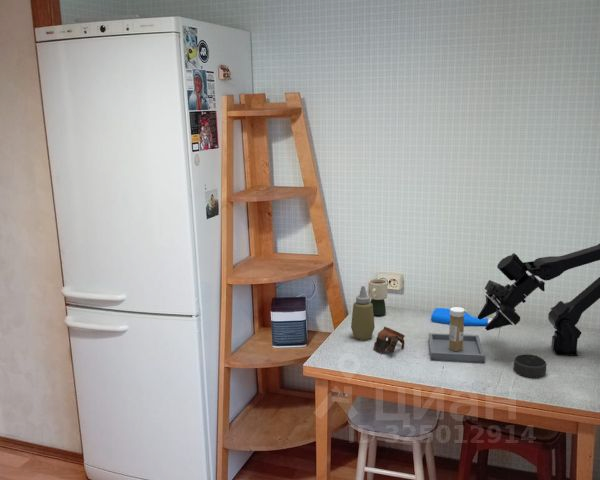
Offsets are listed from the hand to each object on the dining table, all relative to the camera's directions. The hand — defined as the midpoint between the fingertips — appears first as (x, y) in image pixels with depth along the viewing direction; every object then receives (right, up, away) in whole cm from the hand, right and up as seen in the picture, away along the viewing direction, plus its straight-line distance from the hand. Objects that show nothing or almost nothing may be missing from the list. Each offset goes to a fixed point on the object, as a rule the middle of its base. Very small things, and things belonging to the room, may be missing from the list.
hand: (482, 323), depth 185 cm
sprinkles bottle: (-8, -9, +2) cm, 12 cm away
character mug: (-28, -2, +36) cm, 46 cm away
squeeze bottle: (-36, -7, +15) cm, 40 cm away
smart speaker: (+10, -13, -12) cm, 20 cm away
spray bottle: (+3, -4, +28) cm, 28 cm away
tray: (-8, -9, +2) cm, 12 cm away
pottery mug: (-29, -9, +4) cm, 30 cm away
